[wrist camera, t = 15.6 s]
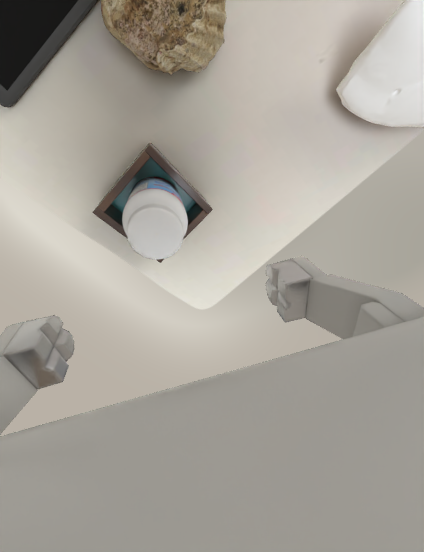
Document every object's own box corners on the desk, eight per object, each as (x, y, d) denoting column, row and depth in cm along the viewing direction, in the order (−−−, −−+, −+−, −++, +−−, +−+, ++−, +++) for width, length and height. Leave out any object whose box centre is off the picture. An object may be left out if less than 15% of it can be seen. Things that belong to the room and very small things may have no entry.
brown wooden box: (150, 141, 26) (149, 143, 22) (205, 199, 31) (213, 209, 27) (101, 201, 28) (92, 212, 24) (159, 247, 33) (160, 262, 29)
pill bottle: (190, 205, 30) (206, 238, 21) (154, 234, 31) (155, 279, 22) (156, 163, 27) (158, 181, 17) (118, 198, 28) (100, 232, 18)
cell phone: (-88, 23, 19) (-97, 19, 18) (18, -144, 16) (12, -154, 15) (9, 111, 23) (5, 111, 22) (107, -11, 20) (106, -16, 19)
